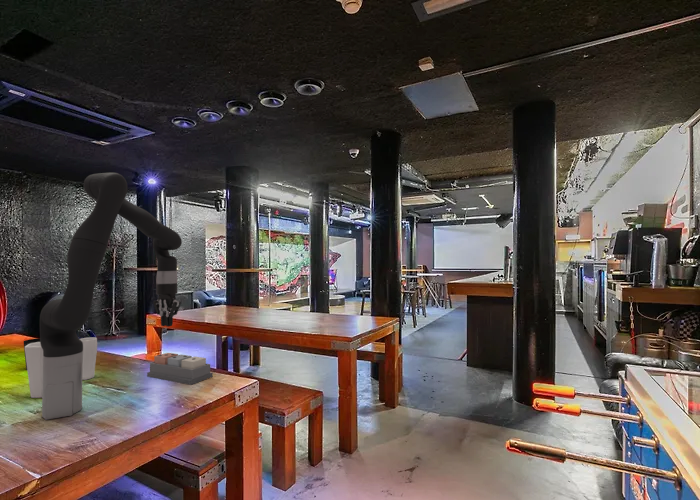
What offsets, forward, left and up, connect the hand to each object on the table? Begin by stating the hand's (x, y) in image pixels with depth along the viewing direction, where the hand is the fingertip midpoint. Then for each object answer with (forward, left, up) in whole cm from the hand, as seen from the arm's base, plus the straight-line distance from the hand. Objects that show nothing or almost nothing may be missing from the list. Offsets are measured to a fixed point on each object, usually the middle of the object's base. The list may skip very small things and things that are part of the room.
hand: (166, 325), depth 141 cm
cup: (+38, +49, -19) cm, 65 cm away
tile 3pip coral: (0, 0, -15) cm, 15 cm away
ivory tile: (-12, -9, -15) cm, 21 cm away
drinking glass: (+10, +27, -19) cm, 35 cm away
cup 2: (-4, +36, -19) cm, 41 cm away
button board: (-6, -5, -19) cm, 21 cm away
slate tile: (-6, -5, -15) cm, 17 cm away
